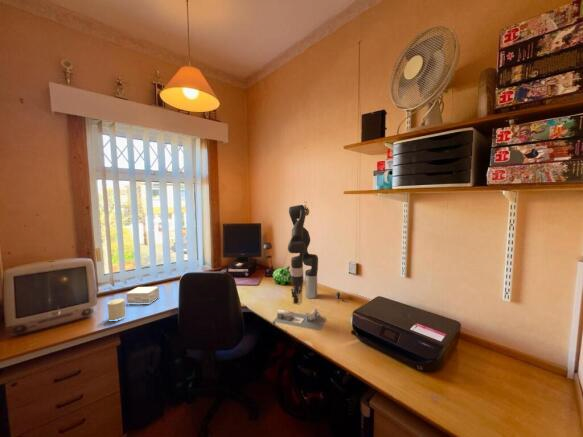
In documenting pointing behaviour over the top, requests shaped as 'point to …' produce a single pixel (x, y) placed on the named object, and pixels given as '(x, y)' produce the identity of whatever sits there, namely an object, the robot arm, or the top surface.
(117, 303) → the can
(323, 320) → the shaft base
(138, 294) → the supplement box
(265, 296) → the top surface
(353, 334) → the hand tool
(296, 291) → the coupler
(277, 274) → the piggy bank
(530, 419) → the top surface
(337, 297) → the top surface
